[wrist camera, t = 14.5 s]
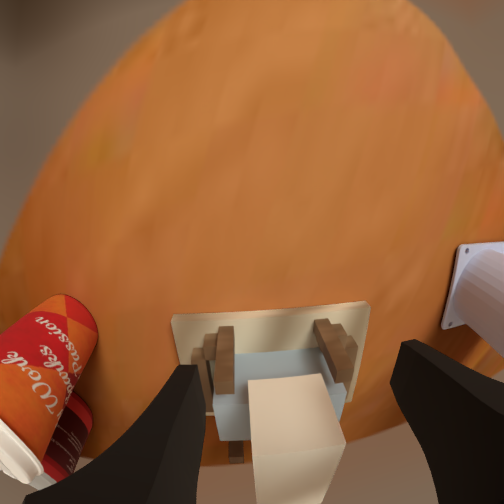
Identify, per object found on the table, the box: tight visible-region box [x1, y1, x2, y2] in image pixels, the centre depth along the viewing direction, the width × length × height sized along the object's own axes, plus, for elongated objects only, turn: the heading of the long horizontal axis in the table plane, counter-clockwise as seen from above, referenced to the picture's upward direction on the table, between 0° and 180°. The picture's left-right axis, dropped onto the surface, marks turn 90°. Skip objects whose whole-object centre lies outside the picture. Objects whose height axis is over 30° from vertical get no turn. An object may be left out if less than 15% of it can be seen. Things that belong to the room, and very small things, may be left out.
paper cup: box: [0, 294, 98, 484], centre depth 13 cm, size 8×8×14 cm
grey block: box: [213, 347, 347, 441], centre depth 18 cm, size 8×4×5 cm, turn 92°
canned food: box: [28, 391, 93, 490], centre depth 17 cm, size 8×8×11 cm
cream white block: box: [248, 373, 346, 504], centre depth 13 cm, size 8×4×5 cm, turn 2°
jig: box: [171, 301, 371, 463], centre depth 18 cm, size 14×10×6 cm
